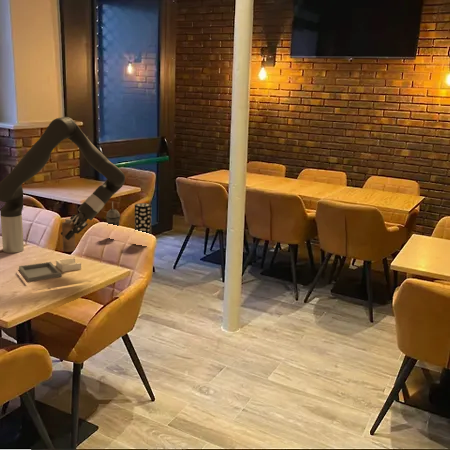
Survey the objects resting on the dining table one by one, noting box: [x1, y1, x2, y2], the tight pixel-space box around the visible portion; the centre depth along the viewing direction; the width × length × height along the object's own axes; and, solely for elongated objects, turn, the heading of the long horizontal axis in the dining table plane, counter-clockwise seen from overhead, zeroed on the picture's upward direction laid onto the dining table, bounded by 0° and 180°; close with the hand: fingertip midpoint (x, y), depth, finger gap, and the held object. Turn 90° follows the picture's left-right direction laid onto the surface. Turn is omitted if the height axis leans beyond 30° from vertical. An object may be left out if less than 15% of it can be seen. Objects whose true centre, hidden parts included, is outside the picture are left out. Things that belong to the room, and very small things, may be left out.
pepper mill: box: [61, 218, 76, 253], centre depth 218 cm, size 5×5×13 cm
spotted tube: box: [134, 202, 152, 235], centre depth 262 cm, size 8×8×20 cm
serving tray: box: [18, 261, 63, 283], centre depth 213 cm, size 16×13×2 cm
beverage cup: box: [105, 200, 121, 227], centre depth 269 cm, size 7×7×20 cm
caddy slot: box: [55, 257, 82, 273], centre depth 221 cm, size 9×8×4 cm
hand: (64, 236), depth 217 cm, fingers closed on pepper mill, 5 cm apart
